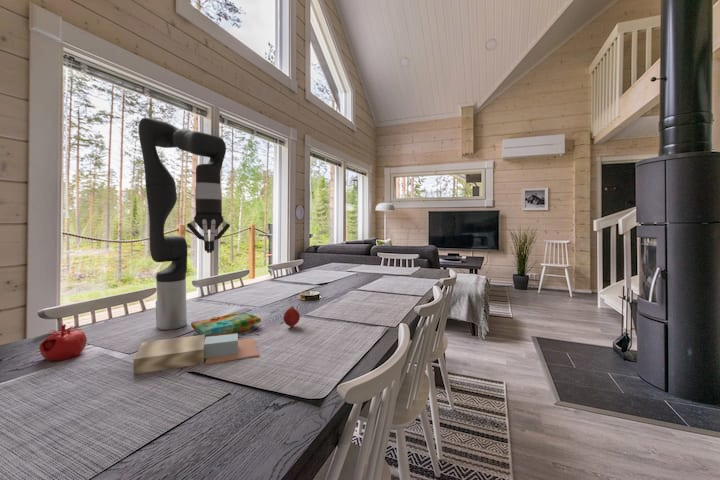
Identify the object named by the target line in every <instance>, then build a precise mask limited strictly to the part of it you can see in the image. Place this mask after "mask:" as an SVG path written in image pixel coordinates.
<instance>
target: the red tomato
mask: <svg viewBox="0 0 720 480" xmlns="http://www.w3.org/2000/svg"><path fill="white" fill-rule="evenodd" d="M66 327H67V326H66V324H62V325H60V328H61V330H54V329H52V330H49V331H48V332H51V333H49V334H48V335H46V336H45V337H46V338H45V339H44V340H43V341H41V342H40V344H39V347H38V349H39V350H38V351H39V352H40V355H41V356H42V358H44V359H45V360H47V361H50V362H51V361H53V362H54V361H64V360H68V359H71V358H75V357H77V356H79V355H80V354H81V353H82V352H83V351H84V349H86V344H87V343H88V339H87V335H86V333H85V332H84V331H82V328H81V329H80V328H76V329H72V328H75V326H69V327H68V328H67V329H66ZM52 332H53V333H52Z"/></svg>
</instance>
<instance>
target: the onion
mask: <svg viewBox="0 0 720 480" xmlns="http://www.w3.org/2000/svg"><path fill="white" fill-rule="evenodd" d="M294 307H295V306H294V305H292V306H290V307H289V308H288V309H287V310H286V311H285V312H284V315H283V321H284V323H285V324H286V325H287V326H289V328H293V327H295V326H296V325H297V324H298V323H299V322H300V319H301V318H300V316H301V314H300V312H299V311H298V310H297V309H296V308H294Z"/></svg>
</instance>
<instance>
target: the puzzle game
mask: <svg viewBox="0 0 720 480" xmlns="http://www.w3.org/2000/svg"><path fill="white" fill-rule="evenodd" d="M261 321H262V320H261V318H260V317H258V316H257V315H254V314H252V313H250V312H248V311H242V312H237V313H236V312H235V313H232V314H226V315H221V316H212V317H211V318H207V319H201V320H196V321H192V322H190V327H191V328H192V329H193V330H194V332H195V334H196V335H205V338H206V337H210V336H219V335H228V334H238V333H240V332H244V331H249V330H251V328H252V326H253V325H256V324H259V323H261Z"/></svg>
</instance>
